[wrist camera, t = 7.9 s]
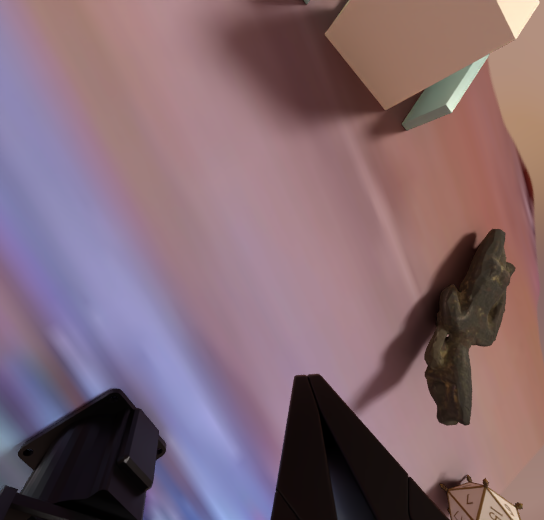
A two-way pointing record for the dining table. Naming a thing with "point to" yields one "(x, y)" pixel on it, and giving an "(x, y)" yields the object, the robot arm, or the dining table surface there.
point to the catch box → (441, 95)
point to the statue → (466, 328)
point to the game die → (479, 503)
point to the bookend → (421, 40)
